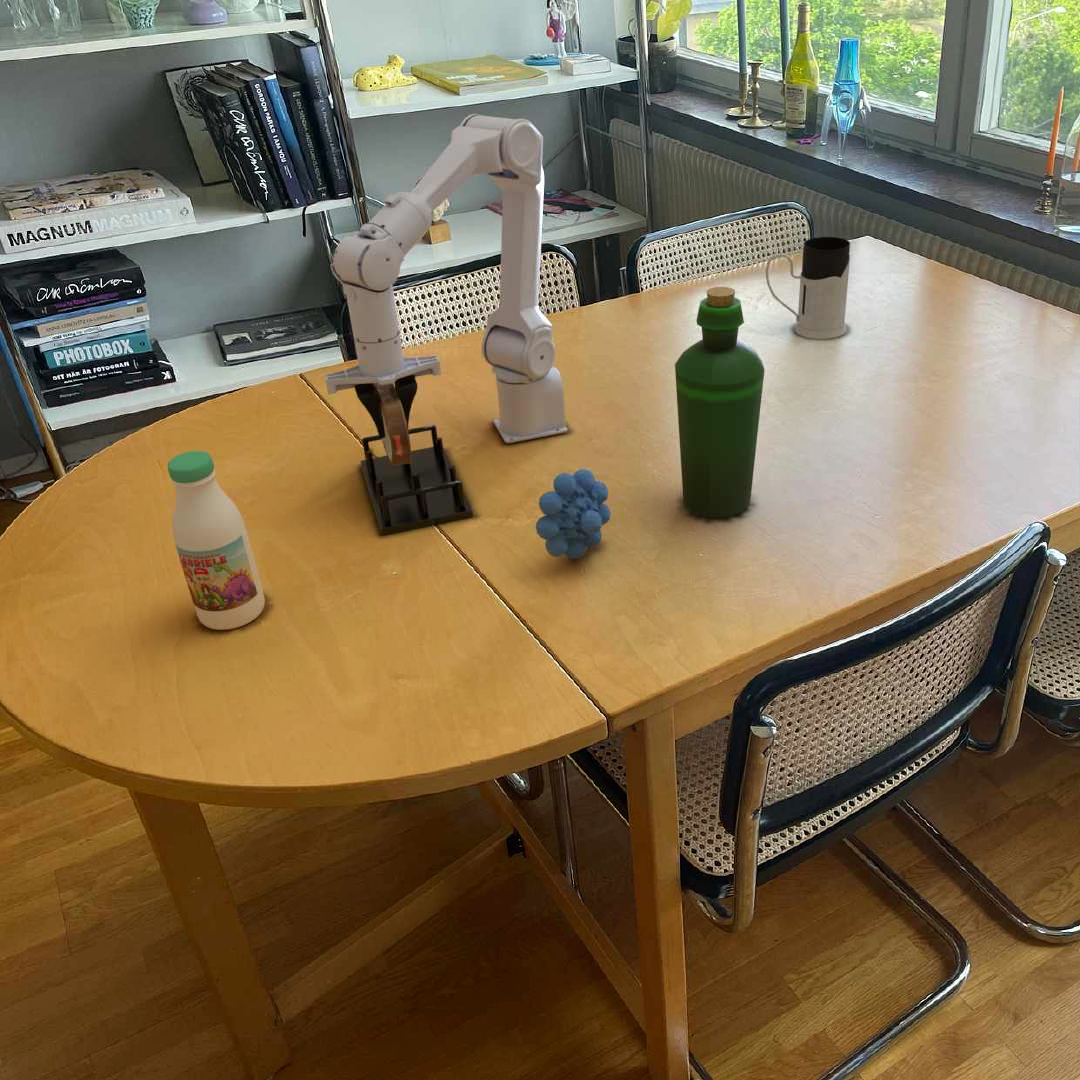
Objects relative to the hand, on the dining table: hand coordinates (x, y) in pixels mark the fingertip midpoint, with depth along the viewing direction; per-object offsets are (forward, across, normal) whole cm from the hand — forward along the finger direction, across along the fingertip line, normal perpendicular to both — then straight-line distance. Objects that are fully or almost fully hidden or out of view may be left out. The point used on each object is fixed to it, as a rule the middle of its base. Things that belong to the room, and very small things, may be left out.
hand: (392, 432), depth 136 cm
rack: (+9, +2, 0) cm, 9 cm away
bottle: (+9, +38, -19) cm, 43 cm away
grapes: (+9, +18, -25) cm, 32 cm away
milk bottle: (+9, -23, -20) cm, 32 cm away
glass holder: (+9, +76, +29) cm, 82 cm away
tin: (+3, 0, 0) cm, 3 cm away
